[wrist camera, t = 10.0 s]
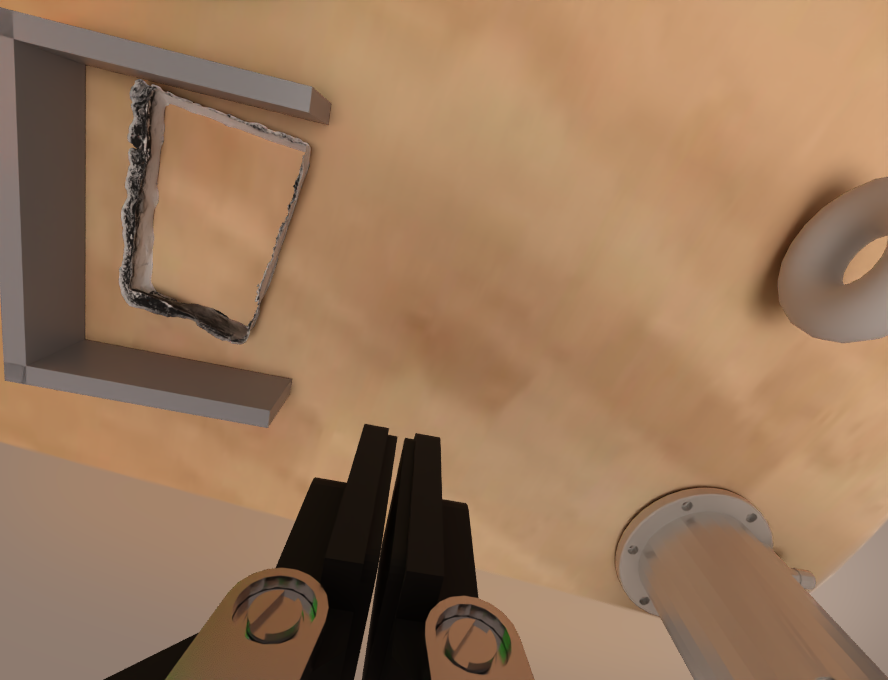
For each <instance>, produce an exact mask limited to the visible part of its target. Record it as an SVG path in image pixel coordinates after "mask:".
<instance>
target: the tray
mask: <svg viewBox="0 0 888 680" xmlns="http://www.w3.org/2000/svg"><path fill="white" fill-rule="evenodd" d="M85 65H89V66H93V67H97V68H101V69H105V70H109V71H113V72H117V73H121V74H125V75H129V76H133V77H137V78H141V79H145V80H149V81H153V82H157V83H161V84H165V85H169V86H174V87H178V88H182V89H186V90H190V91H194V92H198V93H202V94H206V95H210V96H214V97H218V98H222V99H226V100H230V101H234V102H238V103H242V104H246V105H250V106H254V107H258V108H262V109H266V110H270V111H274V112H279V113H283V114H287V115H291V116H295V117H299V118H303V119H307V120H311V121H315V122H319V123H323V124H327V125H328V123H329V116H330V109H331V103H330V102H329V101H328V100H327V99H326V98H324V97H323V96H322V95H321V94H320V93H319V92H318V91H316V90H315V89H314V88H313V87H311V86H307V85H303V84H299V83H295V82H291V81H287V80H283V79H279V78H276V77H272V76H268V75H264V74H260V73H256V72H252V71H248V70H244V69H240V68H236V67H232V66H228V65H225V64H221V63H217V62H213V61H209V60H205V59H201V58H197V57H193V56H189V55H185V54H181V53H177V52H174V51H170V50H166V49H162V48H158V47H154V46H150V45H146V44H142V43H138V42H134V41H130V40H126V39H123V38H119V37H115V36H111V35H107V34H103V33H99V32H95V31H91V30H87V29H83V28H79V27H75V26H71V25H68V24H64V23H60V22H56V21H52V20H48V19H44V18H40V17H36V16H32V15H28V14H24V13H20V12H17V11H13V10H9V9H5V8H1V7H0V298H1V317H2V336H3V355H4V374H5V381H10V382H15V383H21V384H27V385H32V386H38V387H43V388H49V389H54V390H60V391H65V392H71V393H76V394H82V395H88V396H93V397H99V398H104V399H110V400H115V401H121V402H126V403H132V404H137V405H143V406H149V407H154V408H160V409H165V410H171V411H176V412H182V413H187V414H193V415H198V416H204V417H210V418H215V419H221V420H226V421H232V422H237V423H243V424H248V425H254V426H259V427H265V428H268V427H269V425H270V424H271V422H272V421H273V419H274V418H275V416H276V415H277V413H278V412H279V410H280V409H281V407H282V406H283V404H284V403H285V401H286V399H287V398H288V396H289V395H290V390H291V383H292V379H289V378H283V377H278V376H273V375H268V374H263V373H257V372H252V371H247V370H242V369H237V368H231V367H226V366H221V365H216V364H210V363H205V362H200V361H195V360H190V359H184V358H179V357H174V356H169V355H163V354H158V353H153V352H148V351H143V350H137V349H132V348H127V347H122V346H116V345H111V344H106V343H101V342H96V341H90V340H85Z"/></svg>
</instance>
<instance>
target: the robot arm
mask: <svg viewBox="0 0 888 680" xmlns="http://www.w3.org/2000/svg"><path fill="white" fill-rule="evenodd" d="M388 431H389V428H385V427H379V426H374V425H369V424H364V427H363V431H362V434H361V438H360V441H359V444H358V448H357V451H356V454H355V458H354V461H353V464H352V468H351V471H350V474H349V478H348V481H347V483H345V482H339V481H333V480H328V479H322V478H316V477H315V478H314V479H313V481H312V483H311V485H310V488H309V490H308V492H307V495H306V497H305V499H304V502H303V504H302V507H301V509H300V511H299V514H298V516H297V518H296V521H295V523H294V526H293V528H292V530H291V533H290V535H289V537H288V540H287V542H286V545H285V547H284V549H283V552H282V554H281V557H280V559H279V561H278V564H277V566H276V568H274V569H266V570H263V571H260V572H256V573H253V574H251V575H249V576H248V577H246V578H244V579H243V580H241V581H240V582H238V583H237V584H236V585H235V586H234V587H233V588H232V589H231V590H230V592H228V594H227V595H226V596H225V598H224V599H223V600H222V602H221V603H220V605H219V606H218V607H217V609H216V610H215V611H214V613H213V614H212V615H211V617H210V618H209V620H208V621H207V622H206V624H205V625H204V626H203V628H202V629H201V631H200V632H199V633H197V634H195V635H193V636H191V637H189V638H187V639H185V640H183V641H181V642H179V643H177V644H175V645H173V646H171V647H169V648H167V649H165V650H162V651H160V652H158V653H157V654H154V655H152V656H150V657H148V658H146V659H144V660H142V661H140V662H138V663H136V664H134V665H132V666H130V667H128V668H126V669H124V670H122V671H120V672H118V673H116V674H114V675H112V676H110V677H108V678H106V679H104V680H354V677H355V672H356V667H357V663H358V658H359V653H360V649H361V644H362V640H363V635H364V631H365V626H366V621H367V617H368V612H369V607H370V603H371V598H372V593H373V589H374V583H375V579H376V574H377V581H376V587H375V594H374V601H373V608H372V614H371V621H370V628H369V635H368V642H367V648H366V655H365V662H364V669H363V676H362V680H534V677H533V674H532V671H531V668H530V665H529V662H528V660H527V657H526V654H525V651H524V648H523V645H522V642H521V639H520V637H519V635H518V633H517V631H516V629H515V627H514V625H513V624H512V622H511V621H510V620H509V619H508V618H507V617H506V615H505V614H504V613H503V612H502V611H500V610H499V609H497V608H496V607H494V606H493V605H492V604H490V603H488V602H485V601H483V600H481V599H478V590H477V581H476V572H475V563H474V554H473V545H472V536H471V528H470V519H469V510H468V505H467V504H466V503H461V502H455V501H449V500H444V499H442V478H441V444H440V438H439V437H434V436H429V435H423V434H418V433H416V434H415V437H414V439H408V438H405V440H404V444H403V449H402V454H401V458H400V463H399V468H398V472H397V477H396V481H395V486H394V491H393V495H392V500H391V505H390V509H389V514H388V519H387V523H386V528H385V533H384V537H383V531H384V524H385V518H386V511H387V504H388V497H389V490H390V484H391V477H392V470H393V463H394V457H395V450H396V443H397V436H392V435H388ZM382 538H383V542H382ZM381 545H382V548H381ZM380 551H381V553H380ZM379 558H380V560H379ZM378 563H379V567H378ZM615 567H616V571H617V575H618V579H619V581H620V583H621V585H622V587H623V589H624V591H625V592H626V594H627V595H628V597H629V598H630V600H631V601H633V602H634V603H635V604H636V605H637V606H638V607H640V608H641V609H643V610H645V611H647V612H648V613H650V614H653V615H656V616H659V617H660V618H661V620H662V621H663V623H664V625H665V627H666V629H667V631H668V632H669V634H670V636H671V638H672V640H673V642H674V643H675V645H676V647H677V649H678V651H679V653H680V655H681V656H682V658H683V660H684V662H685V664H686V666H687V667H688V669H689V671H690V673H691V675H692V677H693V678H694V680H888V677H887V676H886V675H885V674H884V673H883V672H882V671H881V670H880V669H879V668H878V667H877V666H876V664H875V663H874V662H873V661H872V660H871V659H870V658H869V657H868V656H867V655H866V654H865V653H864V652H863V651H862V650H861V649H860V647H859V646H858V645H857V644H856V643H855V642H854V641H853V640H852V639H851V638H850V637H849V636H848V635H847V634H846V633H845V631H844V630H843V629H842V628H841V627H840V626H839V625H838V624H837V623H836V622H835V621H834V620H833V619H832V618H831V617H830V616H829V614H828V613H827V612H826V611H825V610H824V609H823V608H822V607H821V606H820V605H819V604H818V603H817V602H816V601H815V600H814V598H813V597H812V596H811V595H810V594H809V593H808V592H807V591H806V590H805V589H813V588H814V587H815V585H816V580H815V577H814V575H813V574H812V573H811V572H810V571H807V570H801V569H796V568H789V567H788V566H787V565H786V564H785V563H784V562H783V560H782V559H781V558H780V557H779V556H778V555H777V554H776V553H775V552H774V551H773V538H772V532H771V530H770V527H769V524H768V522H767V521H766V519H765V518H764V516H763V515H762V514H761V512H760V511H759V510H757V509H756V508H755V507H754V506H753V505H752V504H751V503H750V502H749V501H747V500H746V499H744V498H743V497H741V496H740V495H738V494H735V493H733V492H730V491H728V490H722V489H717V488H693V489H687V490H682V491H679V492H676V493H673V494H669V495H667V496H665V497H663V498H661V499H659V500H657V501H655V502H654V503H652V504H651V505H649V506H648V507H646V508H645V509H644V510H642V511H641V512H640V513H639V514H638V515H637V516H636V517H635V518H634V519H633V520H632V521H631V522H630V524H629V525H628V527H627V528H626V529H625V531H624V532H623V535H622V537H621V539H620V541H619V543H618V547H617V551H616V559H615ZM377 569H378V573H377Z"/></svg>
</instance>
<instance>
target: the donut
mask: <svg viewBox="0 0 888 680" xmlns="http://www.w3.org/2000/svg"><path fill="white" fill-rule="evenodd" d="M887 235H888V177H884V178H878V179H875V180H872V181H870V182H868V183H865V184H863V185H861V186H858V187H856V188H854V189H851V190H849V191H847V192H845V193H844V194H842V195H841V196H839V197H838V198H836V199H835V200H833V201H832V202H830V203H829V204H827V205H826V206H824V207H823V208H822V209H821V210H820V211H819V212H818V213H817V214H816V215H815V216H814V217H812V218H811V219H810V220H809V221H808V222H807V223H806V224H805V225H804V227H803V228H802V229H801V231H800V232H799V233H798V235H797V236H796V237H795V239H794V240H793V241H792V243H791V244H790V246H789V249H788V251H787V253H786V255H785V257H784V259H783V261H782V263H781V268H780V273H779V277H778V284H777V286H778V296H779V303H780V305H781V307H782V308H783V310H784V312H785V314H786V315H787V317H788V319H789V320H790V322H791V323H792V324H793V325H795V326H796V327H798V328H799V329H801V330H802V331H804V332H806V333H807V334H809V335H810V336H812V337H814V338H818V339H823V340H828V341H834V342H839V343H850V342H858V341H866V340H873V339H880V338H882V337H885V336H887V335H888V241H887V247H886V249H885V251H884V253H883V255H882V257H881V258H880V259H879V261H878V262H877V263H876V264H875V265H874V267H873V268H872V269H871V270H870V271H869V272H867V273H866V274H865V275H863V276H862V277H861V278H860V279H858V280H856V281H854V282H852V283H850V284H846V285H843V275H844V272H845V270H846V268H847V266H848V264H849V262H850V261H851V260H852V259H853V258H854V256H855V255H856V254H857V253H858V252H859V251H860V250H861V249H862V248H864V247H865V246H866V245H867V244H868V243H870V242H872V241H874V240H875V239H878V238H881V237H884V236H887Z"/></svg>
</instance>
